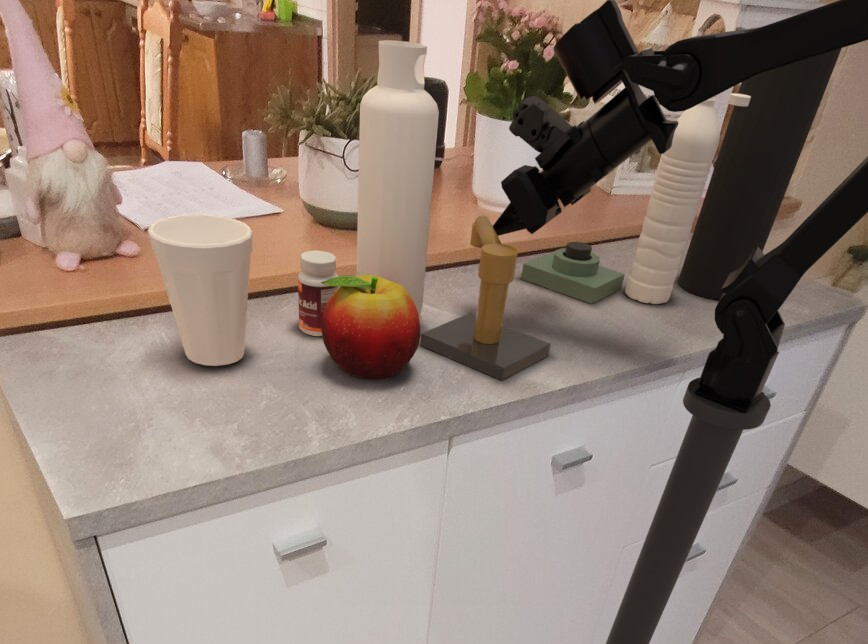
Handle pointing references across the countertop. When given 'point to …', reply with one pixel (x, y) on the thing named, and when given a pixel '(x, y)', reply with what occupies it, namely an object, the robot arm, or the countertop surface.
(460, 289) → the countertop surface
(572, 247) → the dark round button
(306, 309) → the pill bottle
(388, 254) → the bottle
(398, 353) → the fruit
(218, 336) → the cup
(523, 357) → the tap base
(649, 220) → the water bottle
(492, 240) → the spout
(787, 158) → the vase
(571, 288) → the green button mount
